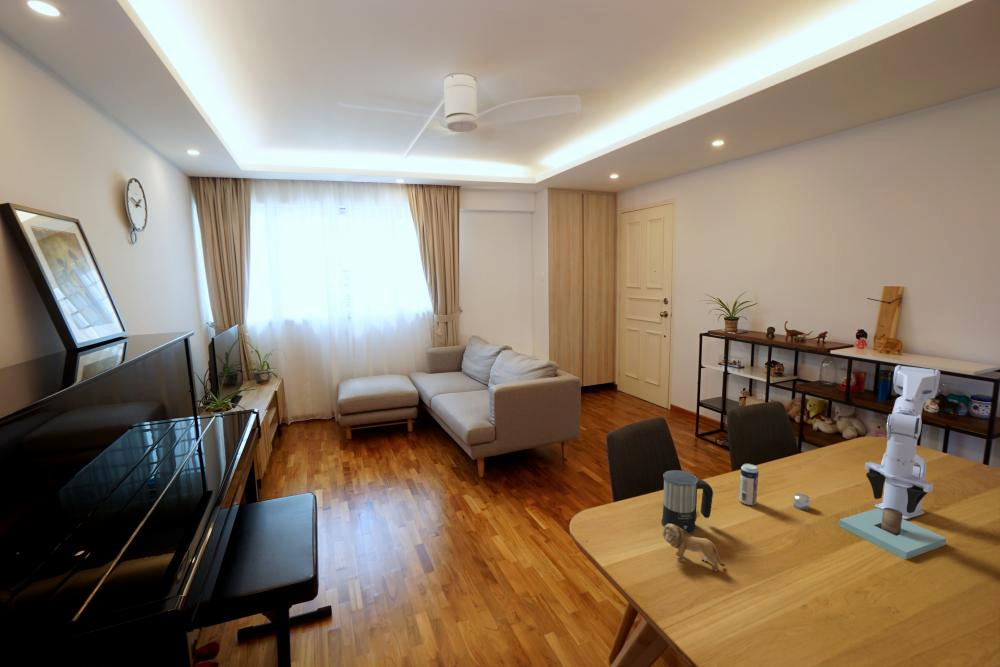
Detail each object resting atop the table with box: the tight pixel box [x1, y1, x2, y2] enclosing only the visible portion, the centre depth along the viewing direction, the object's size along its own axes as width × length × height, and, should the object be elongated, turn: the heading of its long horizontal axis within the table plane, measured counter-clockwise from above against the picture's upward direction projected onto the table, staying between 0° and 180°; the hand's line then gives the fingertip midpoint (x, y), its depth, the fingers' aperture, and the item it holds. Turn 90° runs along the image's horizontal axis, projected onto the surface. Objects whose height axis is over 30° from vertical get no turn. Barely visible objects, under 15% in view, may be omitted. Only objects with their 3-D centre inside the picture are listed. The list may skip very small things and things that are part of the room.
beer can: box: [738, 463, 760, 506], centre depth 139 cm, size 5×5×12 cm
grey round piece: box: [792, 492, 811, 511], centre depth 137 cm, size 4×4×4 cm
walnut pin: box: [881, 508, 903, 536], centre depth 122 cm, size 4×4×7 cm
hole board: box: [838, 507, 947, 560], centre depth 122 cm, size 17×16×2 cm
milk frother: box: [661, 469, 714, 534], centre depth 131 cm, size 14×16×15 cm
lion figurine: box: [662, 524, 726, 572], centre depth 111 cm, size 15×5×9 cm, turn 71°
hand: (893, 504), depth 121 cm, fingers open, 7 cm apart
